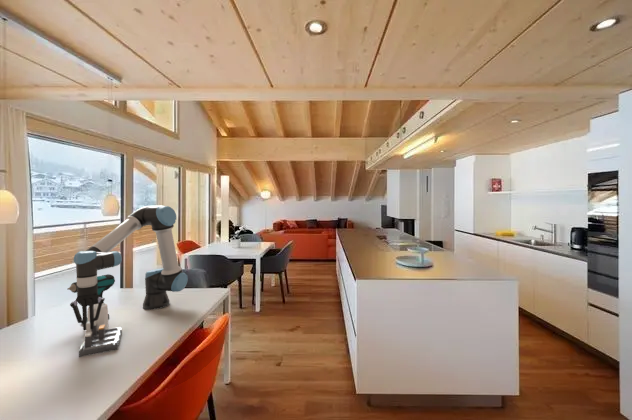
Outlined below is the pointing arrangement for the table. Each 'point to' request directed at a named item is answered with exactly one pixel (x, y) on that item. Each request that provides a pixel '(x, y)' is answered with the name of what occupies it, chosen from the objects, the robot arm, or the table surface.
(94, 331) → the block
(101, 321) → the cup
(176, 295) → the table surface
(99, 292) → the power drill
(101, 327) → the block
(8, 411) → the table surface
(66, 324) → the table surface
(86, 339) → the block
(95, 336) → the panel
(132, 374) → the table surface
